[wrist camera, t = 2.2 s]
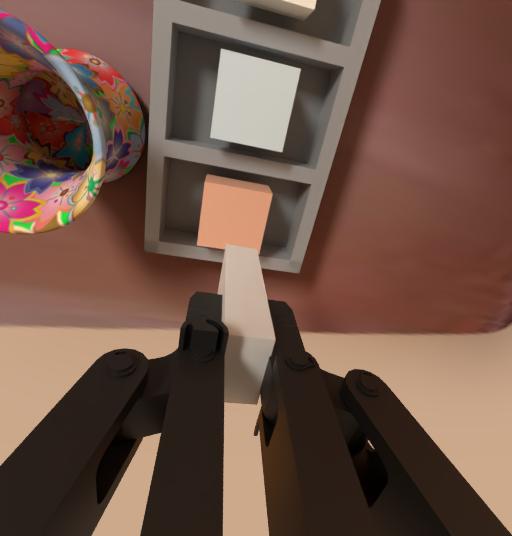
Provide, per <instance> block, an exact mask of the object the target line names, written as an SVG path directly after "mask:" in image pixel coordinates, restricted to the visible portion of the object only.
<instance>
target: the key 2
mask: <svg viewBox="0 0 512 536" xmlns="http://www.w3.org/2000/svg"><path fill="white" fill-rule="evenodd" d="M232 1H236V2H239V3H243V4H246V5H250V6H253V7H257V8H260V9H264V10H267V11H271V12H275V13H278V14H282V15H285V16H289V17H292V18H296V19H299V20H303V21H304V20H305V19H306V18H307V17H308V16H309V15H310V14H311V13H312V12H313V11H314V9H315V5H316V0H232Z"/></svg>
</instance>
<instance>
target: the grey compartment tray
mask: <svg viewBox="0 0 512 536" xmlns="http://www.w3.org/2000/svg"><path fill="white" fill-rule="evenodd" d="M380 2H381V0H316V5H315V9H314V11H313V12H312V13H311V14H310V15H309V16H308V17H307V18H306V19H305V20H304V21H303V20H299V19H296V18H292V17H289V16H285V15H282V14H278V13H275V12H271V11H267V10H264V9H260V8H257V7H253V6H250V5H246V4H243V3H239V2H236V1H232V0H154V9H153V35H152V60H151V86H150V111H149V137H148V162H147V188H146V213H145V239H144V252H151V253H158V254H165V255H172V256H179V257H186V258H193V259H200V260H207V261H215V262H222V263H223V259H224V253H225V249H218V248H211V247H205V246H198V245H197V240H198V232H199V224H200V215H201V207H202V199H203V191H204V183H205V179H206V175H207V174H210V175H215V176H220V177H226V178H231V179H236V180H242V181H247V182H252V183H258V184H263V185H268V186H269V188H270V190H271V192H272V194H273V195H272V200H271V204H270V208H269V213H268V217H267V222H266V226H265V231H264V235H263V239H262V244H261V248H260V253H259V255H258V256H259V261H260V266H261V268H264V269H271V270H278V271H285V272H292V273H299V272H300V269H301V265H302V262H303V259H304V255H305V252H306V249H307V245H308V242H309V239H310V235H311V232H312V229H313V226H314V222H315V219H316V216H317V212H318V209H319V206H320V202H321V199H322V196H323V192H324V189H325V186H326V182H327V179H328V176H329V172H330V169H331V166H332V162H333V159H334V156H335V152H336V149H337V146H338V142H339V139H340V136H341V132H342V129H343V126H344V122H345V119H346V116H347V112H348V109H349V106H350V102H351V99H352V96H353V92H354V89H355V86H356V82H357V79H358V76H359V72H360V69H361V66H362V62H363V59H364V56H365V52H366V49H367V46H368V42H369V39H370V36H371V32H372V29H373V26H374V22H375V19H376V16H377V12H378V9H379V6H380ZM221 49H225V50H229V51H233V52H237V53H241V54H245V55H249V56H253V57H257V58H260V59H264V60H268V61H272V62H276V63H280V64H284V65H288V66H292V67H296V68H300V69H301V71H300V76H299V80H298V85H297V89H296V93H295V98H294V102H293V107H292V111H291V115H290V120H289V124H288V129H287V133H286V138H285V142H284V146H283V151H282V152H278V151H273V150H268V149H263V148H258V147H254V146H249V145H244V144H239V143H234V142H229V141H224V140H220V139H215V138H210V134H211V126H212V118H213V110H214V102H215V94H216V86H217V77H218V69H219V61H220V53H221Z"/></svg>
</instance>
